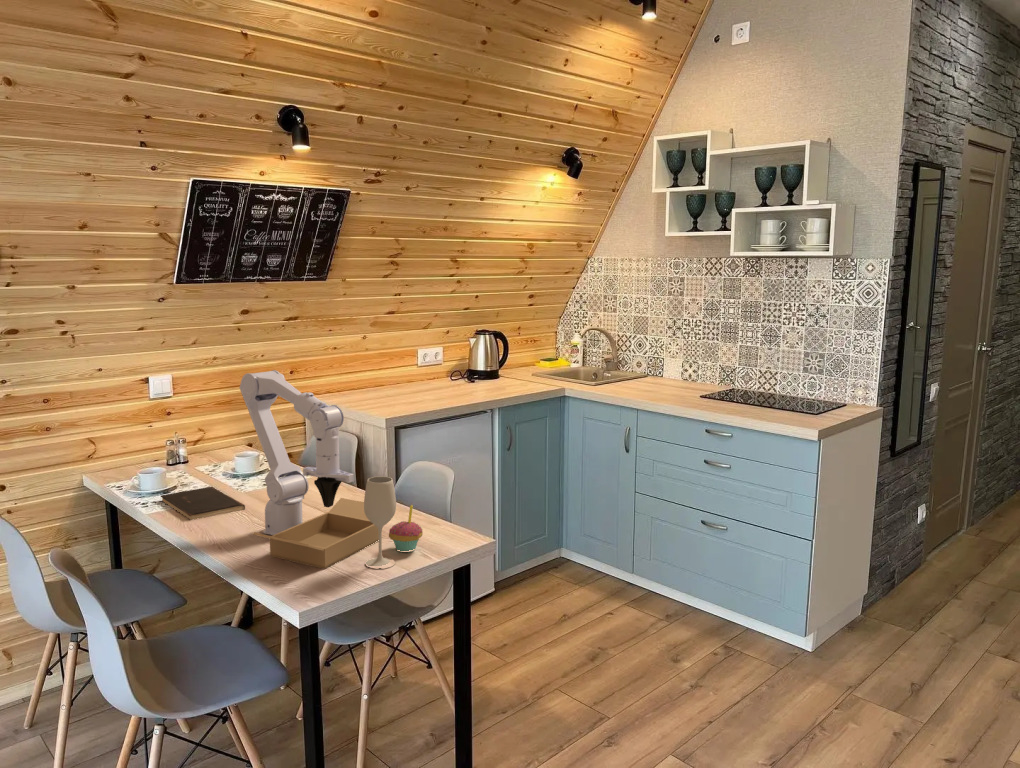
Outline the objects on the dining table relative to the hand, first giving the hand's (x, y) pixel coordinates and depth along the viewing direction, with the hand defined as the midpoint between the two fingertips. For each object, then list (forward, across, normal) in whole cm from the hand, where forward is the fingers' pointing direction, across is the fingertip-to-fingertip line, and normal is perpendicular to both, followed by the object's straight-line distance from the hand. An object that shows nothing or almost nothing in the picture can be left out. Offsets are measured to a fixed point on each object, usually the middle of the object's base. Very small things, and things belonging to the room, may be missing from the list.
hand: (328, 506), depth 199 cm
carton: (+10, +1, -2) cm, 11 cm away
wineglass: (+11, +19, -4) cm, 22 cm away
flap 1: (+4, +1, -16) cm, 16 cm away
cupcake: (+11, +19, +7) cm, 23 cm away
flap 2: (+4, +1, +12) cm, 12 cm away
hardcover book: (+11, -53, +8) cm, 55 cm away
